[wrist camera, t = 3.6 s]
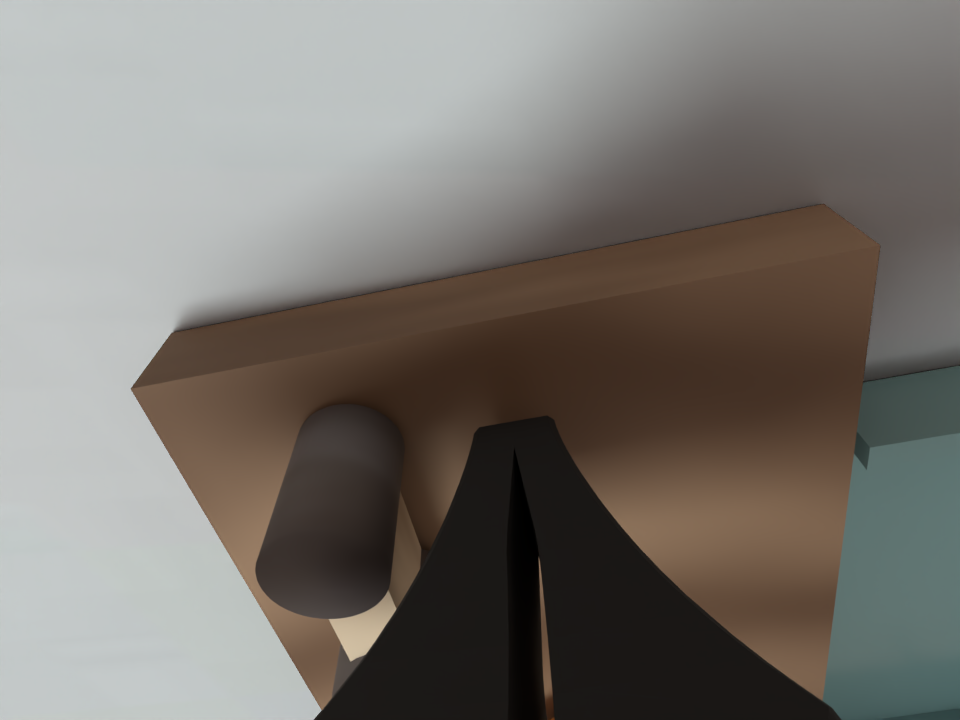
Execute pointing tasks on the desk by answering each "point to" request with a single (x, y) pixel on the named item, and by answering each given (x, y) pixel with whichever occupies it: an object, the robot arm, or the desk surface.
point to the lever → (342, 529)
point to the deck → (575, 410)
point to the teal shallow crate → (901, 556)
